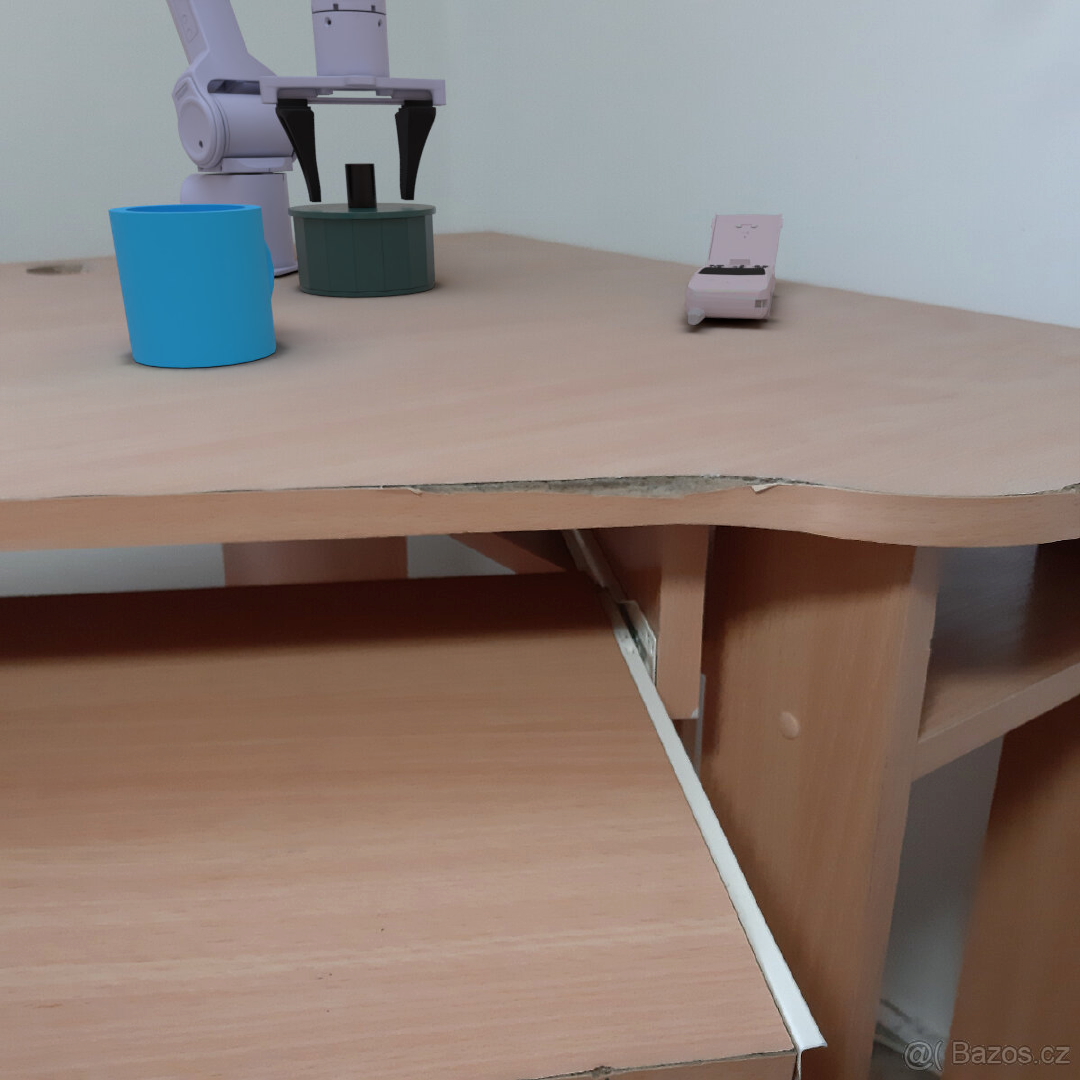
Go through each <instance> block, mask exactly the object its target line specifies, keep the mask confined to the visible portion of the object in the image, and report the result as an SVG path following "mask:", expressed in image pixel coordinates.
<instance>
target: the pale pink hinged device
mask: <svg viewBox="0 0 1080 1080" xmlns="http://www.w3.org/2000/svg"><path fill="white" fill-rule="evenodd" d="M782 215H783V213H778V214H765V213H764V214H763V213H761V214H760V213H750V214H747V213H746V214H718V213H714V218H712V220H711V225H710V228H711V233H710V241H709V248H708V256H707V262H706V263H705V264H704V266H702V267H700V268H699V269H698V270H696V271H695V272H694V273H693V274H692V276H691V278H690V280H689V282H688V284H687V286H686V291H685V298H684V299H685V301H684V306H685V307H684V308H685V313H686V315H687V323H688V325H691V326H695V325H699V324H700V323H701V322H702V321H703V320H704V319H706V318H708V319H739V320H740V319H741V320H743V319H744V320H769V319H770V314H771V310H772V302H773V297H774V293H775V288H776V281H777V280H776V262H777V256H778V250H779V243H780V234H781V229H783V227H784V218H782V217H783V216H782Z"/></svg>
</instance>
